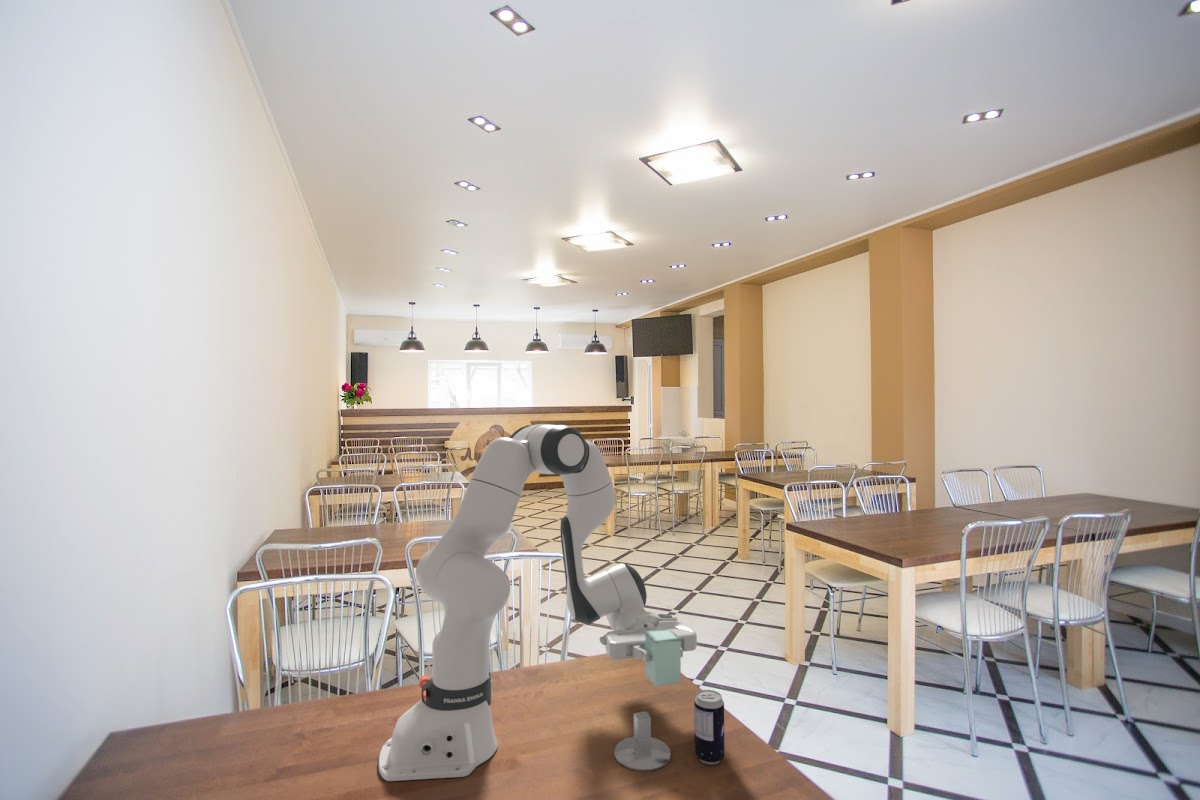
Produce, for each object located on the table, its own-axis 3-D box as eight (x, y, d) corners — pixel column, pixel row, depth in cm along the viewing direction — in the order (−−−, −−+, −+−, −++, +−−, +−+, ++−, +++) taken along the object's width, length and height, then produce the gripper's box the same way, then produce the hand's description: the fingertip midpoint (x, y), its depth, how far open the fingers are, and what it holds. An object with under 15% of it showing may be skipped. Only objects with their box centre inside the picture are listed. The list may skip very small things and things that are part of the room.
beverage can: (727, 767, 112) (726, 703, 112) (697, 766, 112) (696, 702, 112) (721, 749, 118) (721, 688, 118) (692, 749, 118) (692, 688, 118)
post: (624, 775, 110) (624, 734, 110) (607, 743, 120) (607, 706, 120) (679, 765, 113) (679, 725, 113) (657, 734, 123) (657, 698, 123)
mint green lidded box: (655, 686, 120) (655, 641, 120) (645, 674, 125) (645, 631, 126) (680, 682, 122) (680, 638, 122) (669, 671, 127) (669, 628, 127)
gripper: (597, 622, 133) (616, 645, 120) (681, 614, 139) (708, 635, 126) (597, 651, 133) (616, 677, 120) (681, 641, 139) (708, 665, 126)
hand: (664, 655), depth 123 cm, fingers closed on mint green lidded box, 6 cm apart
